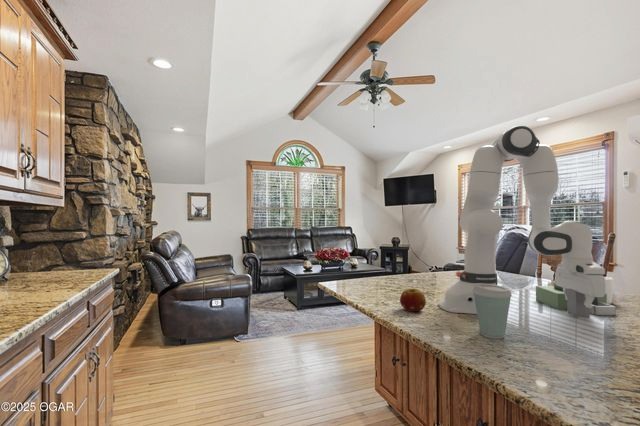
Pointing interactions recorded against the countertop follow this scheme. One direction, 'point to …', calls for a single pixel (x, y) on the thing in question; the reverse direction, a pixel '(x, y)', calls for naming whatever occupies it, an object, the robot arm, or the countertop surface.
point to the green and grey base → (557, 300)
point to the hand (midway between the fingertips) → (578, 303)
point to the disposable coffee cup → (492, 309)
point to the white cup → (609, 289)
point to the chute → (576, 304)
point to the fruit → (412, 300)
